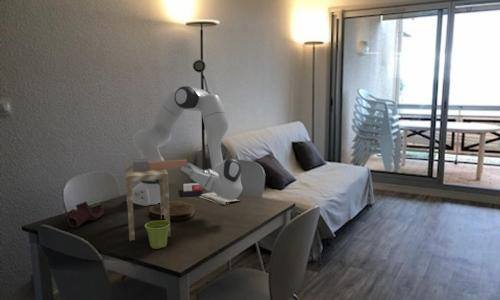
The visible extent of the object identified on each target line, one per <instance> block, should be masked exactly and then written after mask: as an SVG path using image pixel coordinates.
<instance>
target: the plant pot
mask: <svg viewBox="0 0 500 300" xmlns="http://www.w3.org/2000/svg"><path fill="white" fill-rule="evenodd" d="M169 225H170V226H171V221H170V222H168V221H165V220H161V219H160V220H152V221H148V222H146V223H145V224H144V228H145V229H146V232H147V235H148V241H149V246H150V247H151V248H152V249H154V250H155V249H156V250H157V249H161V248H165V247H166V246H167V245H168V237H169V236H168V228H169ZM167 236H168V237H167Z"/></svg>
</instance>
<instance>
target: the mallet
mask: <svg viewBox="0 0 500 300" xmlns="http://www.w3.org/2000/svg"><path fill="white" fill-rule="evenodd" d="M187 164H188V160H187V159H186V158H184V159H167V160H166V159H164V161H149V162H148V159H142V158H137V159H136V158H135V159H134V158H133V159H132V165H133V172H138V171H149V170H156V169H166V170H169V169H180V168H181V166H184V167H187Z"/></svg>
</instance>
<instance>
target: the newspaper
mask: <svg viewBox="0 0 500 300" xmlns="http://www.w3.org/2000/svg"><path fill="white" fill-rule="evenodd" d="M201 198H202V199H205V200H208V201H211V202H212V203H215V204H218V205H224V206H226V205H231V204H230V203H231V202H239V201H241V200H239V199H238V198H236V199H235V200H228V199H225V198H223V197H220V196H218V195H217V194H216V193H214V192H206V193H203V194H202V195H201V196H200V199H201ZM226 202H227V203H226Z"/></svg>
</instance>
